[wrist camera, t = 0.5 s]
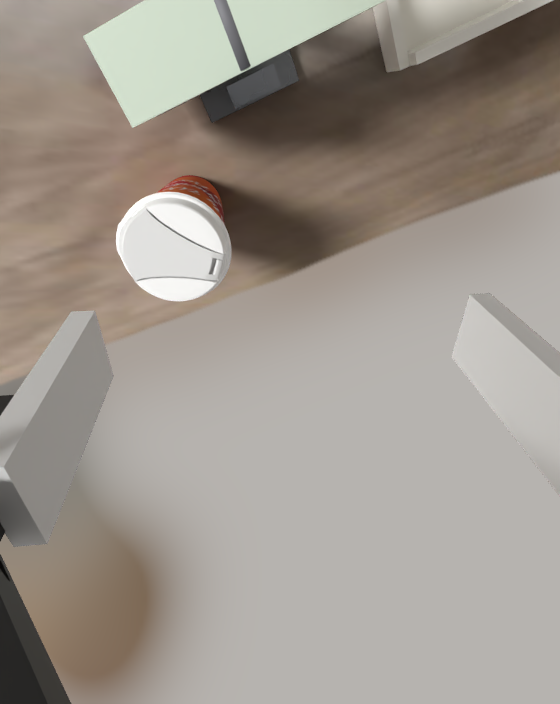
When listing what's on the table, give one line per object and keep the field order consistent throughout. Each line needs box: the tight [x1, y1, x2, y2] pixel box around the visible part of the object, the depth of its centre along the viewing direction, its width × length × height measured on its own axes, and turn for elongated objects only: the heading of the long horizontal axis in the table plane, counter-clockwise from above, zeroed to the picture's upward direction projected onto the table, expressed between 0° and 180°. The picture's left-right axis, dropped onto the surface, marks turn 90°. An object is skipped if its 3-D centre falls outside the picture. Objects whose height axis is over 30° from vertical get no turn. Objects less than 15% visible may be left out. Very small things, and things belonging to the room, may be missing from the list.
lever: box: [83, 0, 386, 128], centre depth 25 cm, size 5×21×8 cm, turn 112°
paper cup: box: [116, 175, 231, 301], centre depth 33 cm, size 8×8×14 cm
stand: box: [200, 50, 299, 123], centre depth 27 cm, size 9×8×12 cm
